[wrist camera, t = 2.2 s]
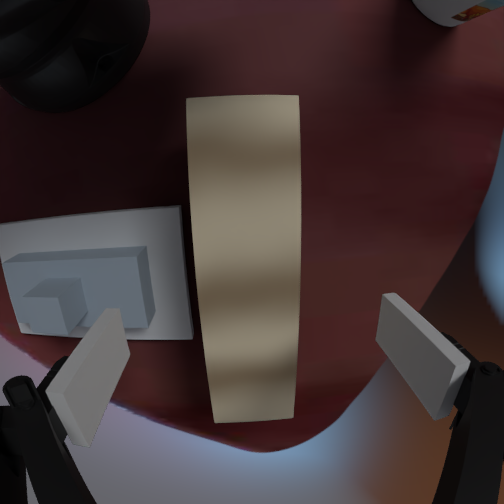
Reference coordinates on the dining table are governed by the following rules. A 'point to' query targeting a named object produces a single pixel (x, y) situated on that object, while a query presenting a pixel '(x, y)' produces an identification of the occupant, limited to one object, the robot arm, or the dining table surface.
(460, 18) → the milk bottle
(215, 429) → the dining table surface
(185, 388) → the dining table surface
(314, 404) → the dining table surface
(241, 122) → the pine batten
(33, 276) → the fulcrum stand
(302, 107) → the dining table surface
